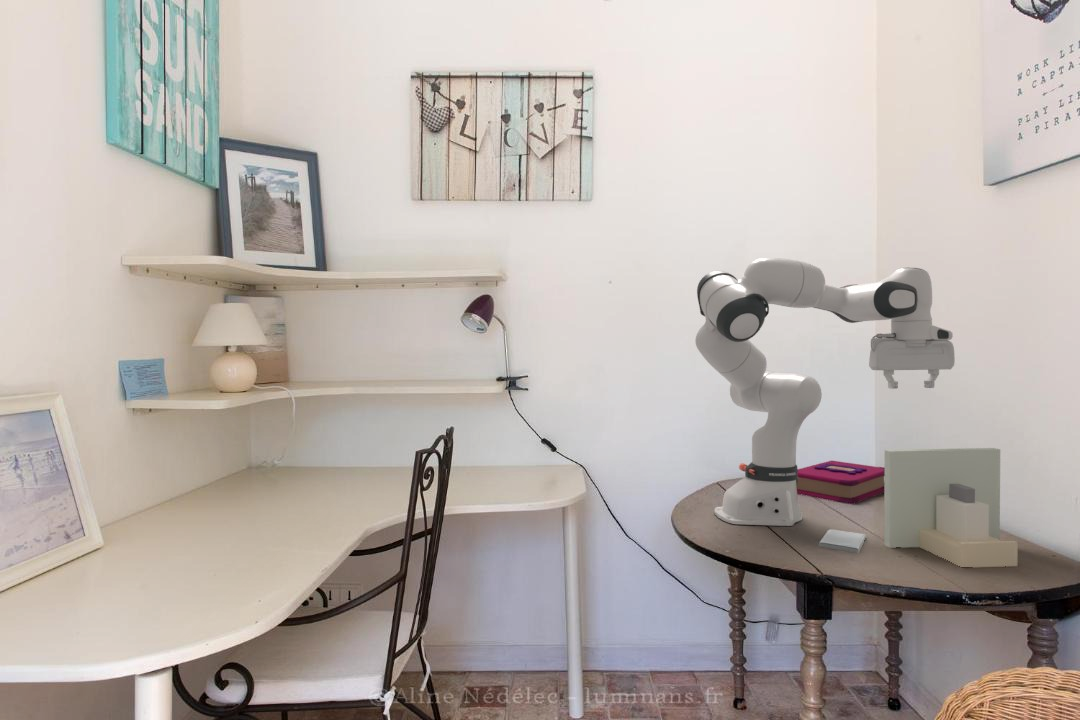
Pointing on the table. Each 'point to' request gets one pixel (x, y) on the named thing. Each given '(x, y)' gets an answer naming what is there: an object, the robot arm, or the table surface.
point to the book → (841, 481)
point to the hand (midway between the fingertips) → (911, 388)
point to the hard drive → (842, 540)
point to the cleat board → (914, 502)
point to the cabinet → (962, 515)
